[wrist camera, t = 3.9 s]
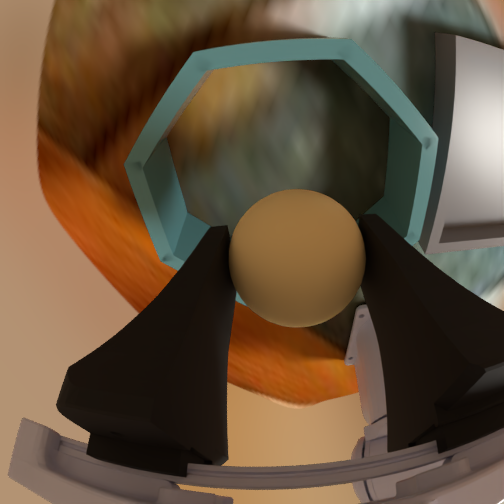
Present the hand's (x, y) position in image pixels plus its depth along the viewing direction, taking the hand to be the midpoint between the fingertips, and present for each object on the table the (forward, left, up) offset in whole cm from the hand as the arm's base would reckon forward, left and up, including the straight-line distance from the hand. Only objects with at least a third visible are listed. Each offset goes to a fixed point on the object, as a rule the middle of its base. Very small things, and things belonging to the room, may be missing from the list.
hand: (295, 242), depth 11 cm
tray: (+1, -15, -7) cm, 16 cm away
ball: (0, 0, +1) cm, 1 cm away
